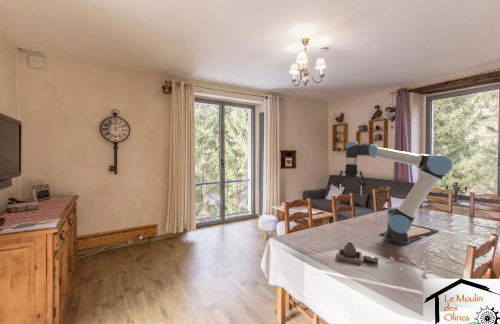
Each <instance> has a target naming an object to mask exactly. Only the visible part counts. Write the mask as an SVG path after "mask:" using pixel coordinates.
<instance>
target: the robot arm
mask: <svg viewBox="0 0 500 324" xmlns="http://www.w3.org/2000/svg"><path fill="white" fill-rule="evenodd" d="M359 156H365V157H373V158H376V159H382V160H387V161H390V162H396V163H400V164H406V165H410V166H415V167H416V168H417V169H420V175H419V177H418V179H417V180H416V182H415V183H414V184H413V186H412V188H411V189H410V191H409V192H408V194H407V195H406V197H405V198H404V200H403V201H402V203H401V204H400V206H396V207H388V208H387V225H386V226H387V227H386V230H385V233H384V236H383V240H384V241H386V242H388V243H390V244H395V245H401V246H402V245H405V246H406V245H410V241H411V240H410V237H409V234H408V232H409V231H410V230H411V226H412V224H413V222H414V220H415V219H416V216H415V214H416V212H417V210H418V209H419V208H420V206H421V205H422V204H423V202H424V200H425V199H426V197H427V196H428V195H429V194H430V192H431V191H432V189H433V188H434V186H435V185H436V183H437V182H439V181H442V179H443V178H444V176H445V175H446V174H448V173H449V172H450V171H451V170H452V168H453V162H452V159H450V157H448V156H446V155H444V154H437V153H436V154H426V153H420V154H417V153H412V152H407V151H402V150H401V151H399V150H395V149H391V148H385V147H379V146H378V145H377V144H373V143H372V144H359V142H358V141H347V142H346V145H345V170H340V172H339V173H340V174H339V175H338V176H337V178H336V180H335V184H337V189H339V191H338V192H339V193H338V194H339V195H340V194H342V192H341V191H342V184H341V183H342V182H343V181H344V180H345V179H346V178H355V179H356V180H357V181H358V182H359V184H361V185H360V196H362V194H363V191H364V190H365V186H367V185H368V183H367V181H366V180H365V177H364V175H363V171H362V170H360V171H358V157H359ZM343 174H345V175H344V176H343V178H341V177H342V175H343ZM358 175H359V176H360V177H361V179H362V180H361V179H360V178H359V177H358ZM340 178H341V179H340ZM339 180H340V181H339Z"/></svg>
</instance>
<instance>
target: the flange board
mask: <svg viewBox="0 0 500 324" xmlns="http://www.w3.org/2000/svg"><path fill="white" fill-rule="evenodd" d="M340 256H344V254H341V255H340ZM364 256H365V255H362V261H361V265H358V264H353V263H348V262H342V261H337V262H338V263H343V264H349V265H355V266H361V267H364V268H365V267H366V268H370V269H374V270H375V269H376V270H379V263H378V264H376V263H371V262H365V261H363V257H364ZM344 257H345V256H344ZM359 258H360V257H357V256H356V257H355V259H359Z"/></svg>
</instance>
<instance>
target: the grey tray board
mask: <svg viewBox="0 0 500 324" xmlns="http://www.w3.org/2000/svg"><path fill="white" fill-rule="evenodd" d="M343 249H344V248H339V249H338V252H337V256H336V257H337V261H336V262H338V261H342V262H341V263H343V262H348V263H347V264H349V263H353V264H352V265H354V264H358V265H357V266H359V265H361V261H362V256H364V257H363V261H365V262H371V263H376V264H378V265H379V257H375V256H369V255H362V251H357V250H356V256H357V257H360V258H359V259H355V258H350V257H344V256H340V255H341V254H343Z"/></svg>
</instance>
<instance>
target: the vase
mask: <svg viewBox="0 0 500 324" xmlns="http://www.w3.org/2000/svg"><path fill="white" fill-rule="evenodd" d="M342 249H343V254H344V256H345V257H350V258H355V257H356V251H357V249H356V247H355V246H354V244H353V242H350V241H349V242H347V243H346V244H345V245H344V247H343V248H342Z"/></svg>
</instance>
